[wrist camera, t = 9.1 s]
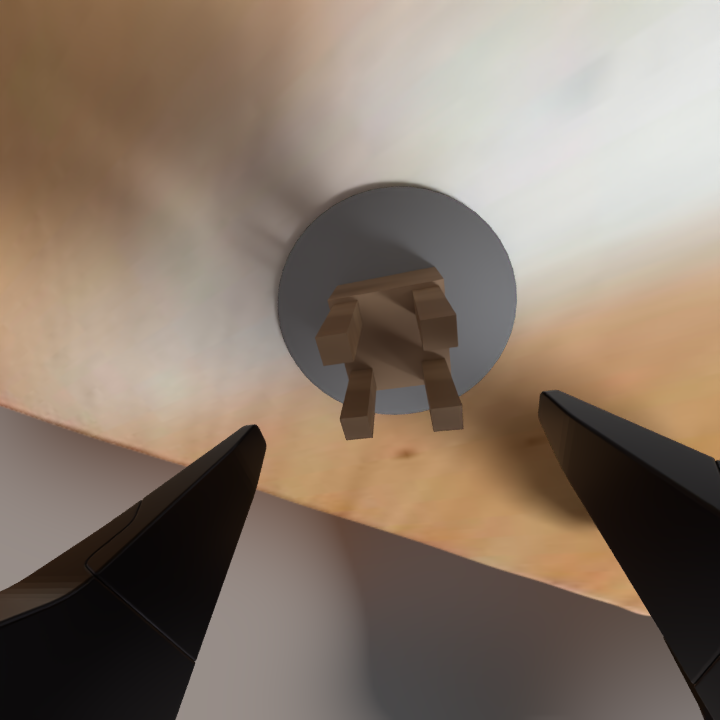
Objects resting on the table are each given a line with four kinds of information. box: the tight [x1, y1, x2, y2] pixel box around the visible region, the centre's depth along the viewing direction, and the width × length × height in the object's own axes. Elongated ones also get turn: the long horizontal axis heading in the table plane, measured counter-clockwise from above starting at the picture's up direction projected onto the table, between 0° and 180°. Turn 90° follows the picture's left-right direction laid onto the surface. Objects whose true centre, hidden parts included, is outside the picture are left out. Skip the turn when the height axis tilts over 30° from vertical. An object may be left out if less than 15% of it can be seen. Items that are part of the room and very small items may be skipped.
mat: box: [278, 187, 517, 415], centre depth 17 cm, size 14×14×1 cm
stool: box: [315, 267, 463, 440], centre depth 14 cm, size 6×6×7 cm
